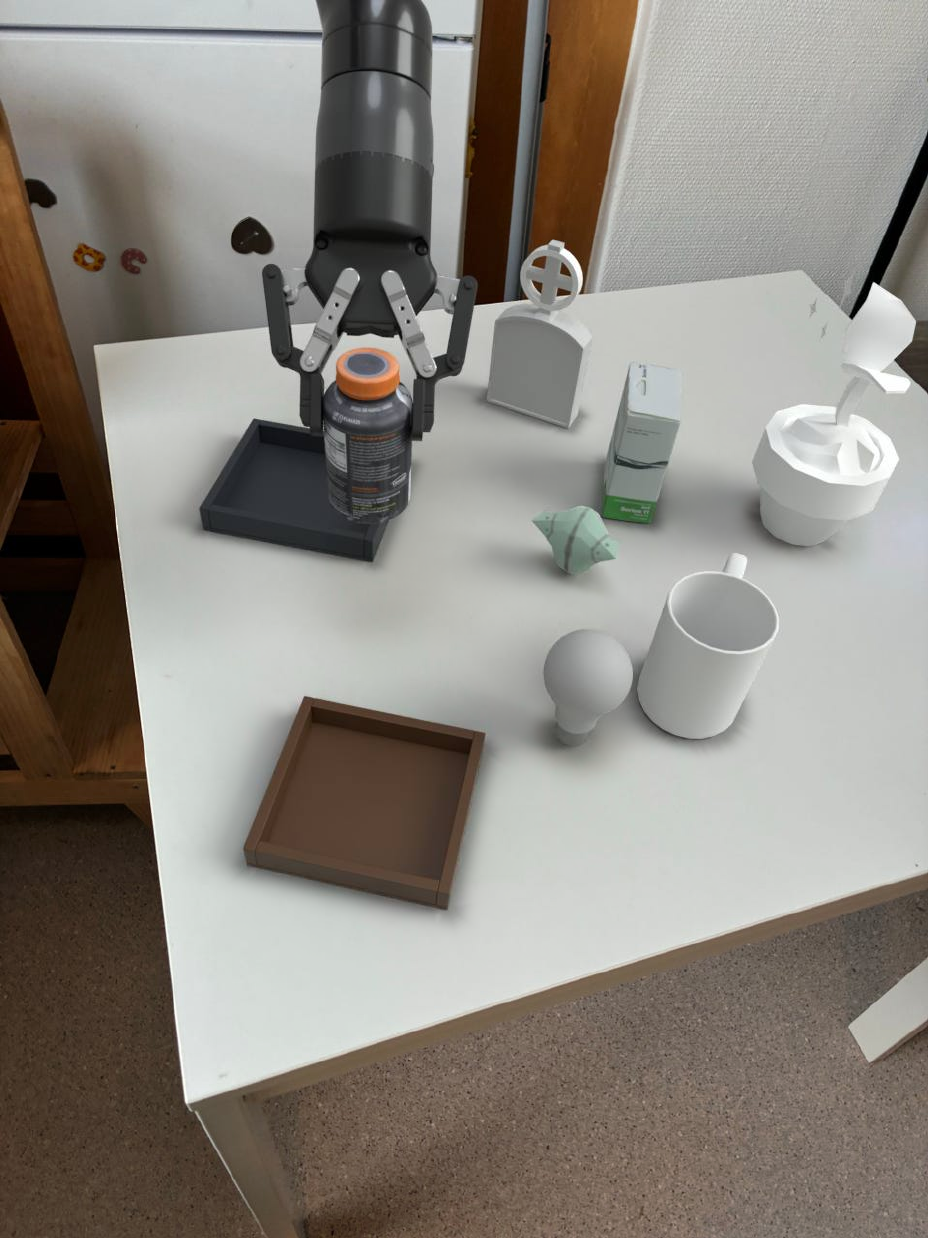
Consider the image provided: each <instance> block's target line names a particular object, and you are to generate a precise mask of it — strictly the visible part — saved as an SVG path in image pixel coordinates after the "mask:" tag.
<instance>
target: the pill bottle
mask: <svg viewBox="0 0 928 1238" xmlns="http://www.w3.org/2000/svg"><path fill="white" fill-rule="evenodd" d="M335 371H336V372H335V380H333V382H331V383H330V384H329V386H328V387H327V388H326V390H324V397H323V431H324V439H325V455H326V471H327V488H328V498H329V502H330V504H331V506H332V508H333V509H334V510H335V511H336V512H337V513H338V514H340V515H341V516H343V517H344V518H346V519H349V520H351V521H355V522H359V523H380V522H384V521H388V520H389V521H390V520H393V519H394V518H396V517H398V516H399V515H401V514H402V513H403V512H404V511H406V509H407V507H408V506H409V503H410V500H411V492H412V491H411V489H412V487H411V486H412V481H411V480H412V457H413V456H412V455H413V454H412V453H413V451H412V450H413V441H412V416H413V396H412V394H411V392H410V391H409V389H408V388H407V386H406V385H405V384H404V383H403V382H401V379H400V378H401V377H400V364H399V361H398V359H397V358H396V357H395V355H393V354H392V353H390V352H388V351H387V350H384V349H381V348H376V347H357V348H353V349H350V350H348V351H345V352H344V353H342V354H341V355H340V356H339V357H338V358H337V360H336V364H335Z"/></svg>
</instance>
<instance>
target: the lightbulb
mask: <svg viewBox="0 0 928 1238" xmlns="http://www.w3.org/2000/svg"><path fill="white" fill-rule="evenodd" d="M542 671H543V672H542V674H543V680H544V681H543V682H544V686H545V689H546V691H547V694H548V695H549V697H550V699H551V700H552V702H553V703H554V704H555V705H554V707H555V709H554V717H555V726H554V733H555V736H556V738H557V740H558V741H559V742H560V743H562V744H564V745H566V746H568V747H569V746H570V747H579V746H581V745H583V744H585V742H586V741H587V740H588V738H589V735H590V733H591V731H592V730H593V729H594V728H595V727H596V724H597V723H598V721H599V719H600V718H601V717H603V716H606V715H607V714H609V713H611V712H614V710H616V709H617V708H619V706H620V705H621V704H622V703H623V702H624V701H625V699H626V698H627V697H628V695H629V693H630V690H631V689H632V685H633V676H634V675H633V672H634V667H633V665H632V660H631V657H630V655H629V653H628V651H627V650H626V648H625V647H624V646H623V644H622V643H621V642H620V641H619V640H618V639H617V638H616V637H614V636H612V635H611V634H609V633H607V632H605V631H601V630H599V629H593V628H585V629H577V630H574V631H571V632H568V633H566V634H564V635H563V636H561V637H560V638H559V639H558V640H557V641H555V643H554V644H553V645H552V646H551V648H550V649H549V651H548V652H547V654H546V657H545V660H544V663H543V670H542Z"/></svg>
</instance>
